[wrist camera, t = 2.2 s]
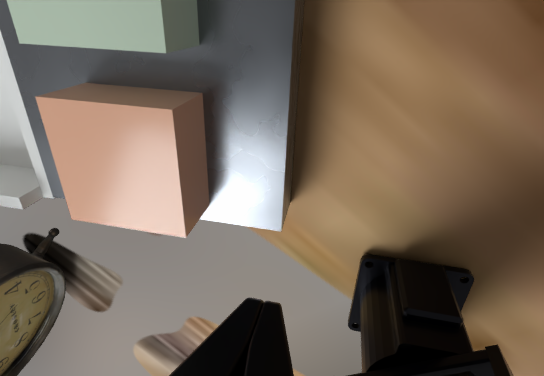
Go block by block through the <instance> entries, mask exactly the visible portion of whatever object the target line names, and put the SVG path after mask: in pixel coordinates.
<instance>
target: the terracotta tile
mask: <svg viewBox="0 0 544 376" xmlns="http://www.w3.org/2000/svg"><path fill="white" fill-rule="evenodd" d="M35 98H36V101H37V104H38V108H39V111H40V114H41V118H42V121H43V124H44V128H45V131H46V135H47V138H48V141H49V145H50V148H51V151H52V155H53V158H54V162H55V165H56V168H57V172H58V175H59V178H60V182H61V185H62V189H63V192H64V195H65V199H66V202H67V205H68V209H69V212H70V215H71V219H72V220H78V221H84V222H90V223H97V224H103V225H109V226H115V227H121V228H128V229H134V230H140V231H146V232H152V233H159V234H165V235H171V236H177V237H183V238H186V237H187V236H188V234H189V233H190V231H191V230H192V229H193V227H194V226H195V224H196V223H197V222H198V220H199V219H200V218H201V216H202V215H203V214H204V212H205V211H206V209H207V208H208V207H209V190H208V174H207V158H206V142H205V125H204V109H203V93H199V92H187V91H176V90H164V89H152V88H141V87H129V86H117V85H106V84H94V83H83V84H79V85H76V86H72V87H68V88H65V89H61V90H57V91H54V92H50V93H46V94H43V95H39V96H36V97H35Z"/></svg>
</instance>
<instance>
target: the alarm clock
mask: <svg viewBox="0 0 544 376" xmlns="http://www.w3.org/2000/svg"><path fill="white" fill-rule="evenodd" d="M58 234H59V230H58V229H57V228H53V229H51V230H50V231H49V235H48V236H47V237H46V238H45V239H44V240H43V241H42V242H41V243H40V244H39V245H38V247H37V248H36V249H35V251H34V252H33V253H32V254H30V253H28V252H26V251H23V250H21V249H19V248H17V247H14V246H11V245H7V244H0V376H17V375H18V374H19V373H20V371H21V370H22V369H23V368H24V367H25V366H26V364H27V363H28V362H29V361H30V360H31V358H32V357H33V356H34V355H35V353H36V351H37V350H38V349H39V348H40V346H41V345H42V343H43V342H44V340H45V339H46V337H47V335H48V334H49V332H50V330H51V329H52V327H53V325H54V323H55V321H56V319H57V317H58V315H59V312H60V310H61V307H62V304H63V301H64V298H65V291H66V283H65V277H64V274H63V272H62V270H61V269H60V268H59V267H58V266H57V265H55V264H53V263H50V262H47V261H45V260H43V256H44V254H45V253H46V251H47V250H48V248H49V246H50V244H51V242H52V240H53V239H54V237H55V236H57V235H58Z"/></svg>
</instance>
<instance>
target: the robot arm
mask: <svg viewBox="0 0 544 376" xmlns="http://www.w3.org/2000/svg"><path fill="white" fill-rule="evenodd" d="M366 262H372V263H371V264H367V263H366ZM462 277H466V278H464V279H461V278H462ZM473 282H474V278H473V276H472V274H471V272H470V271H469V270H466V269H461V268H455V267H448V266H442V265H437V264H430V263H424V262H417V261H411V260H404V259H397V258H390V257H384V256H378V255H371V254H367V255H364V256H363V257H362V258H361V260H360V265H359V270H358V275H357V280H356V285H355V289H354V294H353V299H352V304H351V309H350V314H349V319H348V326H349V328H350V329H352V330H354V331H360V332H361V356H362V373H358V374H353V375H348V376H513V374H512V372H511V370H510V368H509V366H508V364H507V362H506V360H505V358H504V356H503V354H502V352H501V350H500V348H499V346H498V345H493V346H487V347H485V349H484V350H479V351H473V348H472V345H471V342H470V339H469V337H468V334H467V331H466V328H465V326H464V323H463V317H462V315H461V310H462V307H463V305H464V303H465V300H466V298H467V296H468V293H469V291H470V289H471V286H472V284H473ZM354 323H357V324H354ZM169 376H294V374H293V369H292V363H291V357H290V352H289V346H288V341H287V335H286V329H285V324H284V318H283V312H282V307H281V304H280V303H276V302H271V301H265V302H263V301H262V300H260V299H255V298H247V299H245V300H244V301H243V302H242V303H241V304H240V305H239V307H237V309H235V310H234V311H233V312H232V313H231V314H230V316H228V317H227V319H225V320H224V321H223V322H222V323H221V324H220V325H219V326H218V327H217V328H216V329H215V330H214V331H213V332H212V333H211V334H210V335H209V336H208V337H207V338H206V339H205V340H204V341H203V342H202V343H201V344H200V345H199V346H198V347H197V348H196V349H195V350H194V351H193V352H192V353H191V354H190V355H189V356H188V357H187V358H186V359H185V360H184V361H183V362H182V363H181V364H180V365H179V366H178V367H177V368H176V369H175V370H174V371H173V372H172V373H171V374H170V375H169Z"/></svg>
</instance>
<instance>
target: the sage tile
mask: <svg viewBox="0 0 544 376" xmlns="http://www.w3.org/2000/svg"><path fill="white" fill-rule="evenodd" d="M7 3H8V7H9V10H10V13H11V17H12V20H13V23H14V27H15V30H16V33H17V37H18V40H19V43H21V44H36V45H51V46H66V47H81V48H95V49H110V50H125V51H140V52H155V53H169V52H174V51H178V50H182V49H186V48H191V47H195V46H199V28H198V12H197V0H7Z"/></svg>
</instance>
